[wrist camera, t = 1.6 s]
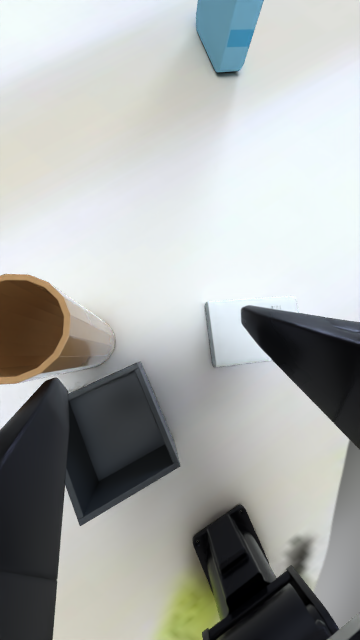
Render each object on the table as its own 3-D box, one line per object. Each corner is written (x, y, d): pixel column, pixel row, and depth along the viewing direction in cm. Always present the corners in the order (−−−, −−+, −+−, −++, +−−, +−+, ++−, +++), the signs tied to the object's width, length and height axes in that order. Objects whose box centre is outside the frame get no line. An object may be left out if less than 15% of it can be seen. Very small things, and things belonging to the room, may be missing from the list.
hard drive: (204, 304, 26) (287, 298, 27) (212, 366, 24) (300, 356, 26) (207, 300, 24) (296, 294, 26) (216, 367, 23) (309, 356, 25)
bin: (174, 441, 22) (180, 466, 17) (97, 485, 20) (79, 526, 15) (140, 361, 23) (137, 362, 18) (64, 395, 21) (38, 408, 16)
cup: (122, 354, 23) (85, 354, 10) (73, 376, 22) (-36, 405, 9) (104, 310, 24) (49, 260, 11) (56, 329, 22) (-69, 296, 10)
